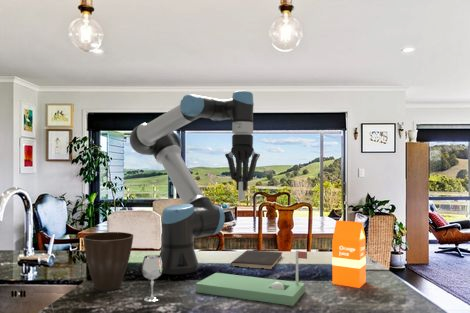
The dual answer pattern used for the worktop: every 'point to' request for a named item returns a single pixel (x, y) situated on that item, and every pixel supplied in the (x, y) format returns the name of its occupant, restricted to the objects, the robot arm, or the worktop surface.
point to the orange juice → (349, 254)
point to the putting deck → (254, 287)
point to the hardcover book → (257, 259)
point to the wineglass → (152, 272)
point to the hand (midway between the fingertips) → (241, 199)
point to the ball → (277, 286)
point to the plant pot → (107, 258)
